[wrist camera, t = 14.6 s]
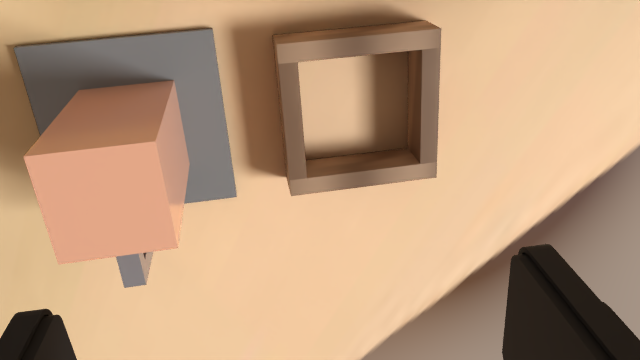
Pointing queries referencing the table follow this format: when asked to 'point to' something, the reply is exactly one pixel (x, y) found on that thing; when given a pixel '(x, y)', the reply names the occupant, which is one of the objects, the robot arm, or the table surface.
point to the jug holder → (421, 105)
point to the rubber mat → (136, 68)
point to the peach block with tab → (113, 176)
